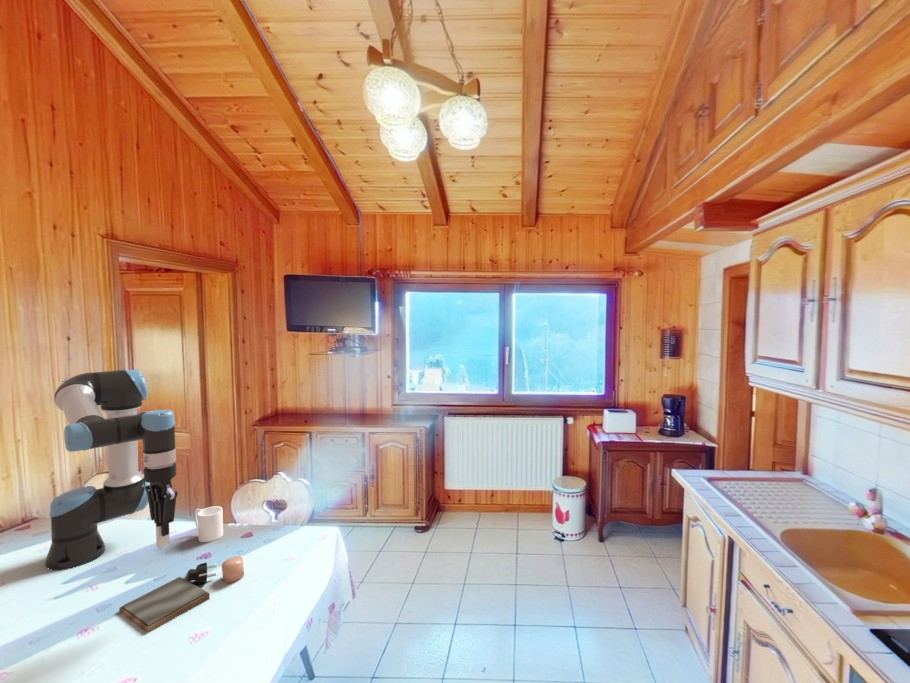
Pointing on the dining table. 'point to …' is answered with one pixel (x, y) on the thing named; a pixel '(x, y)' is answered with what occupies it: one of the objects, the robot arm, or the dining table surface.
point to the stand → (164, 604)
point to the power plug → (200, 573)
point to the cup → (209, 523)
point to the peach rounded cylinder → (232, 569)
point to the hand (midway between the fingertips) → (163, 545)
